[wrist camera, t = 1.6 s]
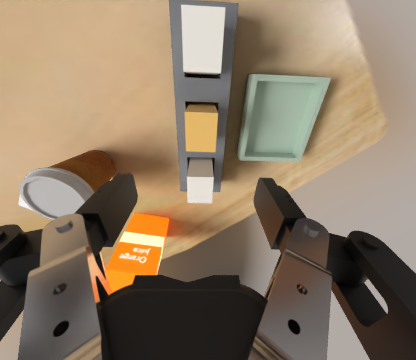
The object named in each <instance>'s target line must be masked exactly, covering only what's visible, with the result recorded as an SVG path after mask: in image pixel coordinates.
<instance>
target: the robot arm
mask: <svg viewBox="0 0 416 360" xmlns="http://www.w3.org/2000/svg"><path fill="white" fill-rule="evenodd" d="M137 198H138V195H137V190H136V186H135V181H134V177H133V175H132V174H126V173H118V174H117V175H116V176H115V177H114V178H113V179H112V180H111V181H108V182H106V183H105V184H103V185H101V186H100V187H99V188H98V189H97V190H96V192H94V193H93V194H92V195H91V197H90V198H89V199H88V200H87V201H86V202H85V203H84V204H83V205H82V206H81V207H80V208H79V209H78V210H77V211H76V212H75V213H74V214H67V215H63V216H61V217H58V218H56V219H54V220H53V221H51V222H50V223H48V224H47V225H46V226H45V227H44V229H40V230H35V231H30V232H25V233H24V232H23V230H22V229H21V228H20V227H19V226H18V225H4V226H0V279H1V282H0V341H1V340H2V338H3V337H4V336H5V334H6V333H7V331H8V330H9V329H10V327H11V326H12V325H13V323H14V322H15V321H16V319H17V318H18V316H19V315H20V314H21V312H22V311H23V310H24V313H23V322H22V329H21V337H20V346H19V353H18V360H327V346H328V331H329V317H330V302H331V301H330V300H331V289H332V291H333V293H334V295H335V296H336V299H337V300H338V302H339V304H340V306H341V308H342V310H343V311H344V313H345V315H346V317H347V319H348V320H349V322H350V324H351V326H352V327H353V329H354V331H355V333H356V335H357V337H358V339H359V340H360V342H361V344H362V346H363V348H364V350H365V351H366V353H367V355H368V357H369V359H370V360H416V273H415V272H413V271H412V270H411V269H410V268H409V267H408V266H407V265H406V264H405V263H404V262H403V261H402V260H401V259H400V258H399V257H398V256H397V255H396V254H395V253H394V252H393V251H392V250H391V249H390V248H389V247H388V246H387V245H386V244H385V243H384V242H382V241H381V240H379V239H378V238H376V237H375V236H373V235H370V234H368V233H365V232H362V231H352V232H351V233H350V234H349V235H348V236H347V238H346V237H342V236H339V235H335V234H331V233H329V232H328V231H327V229H326V228H325V227H324V226H323V225H321V224H320V223H318V222H316V221H314V220H312V219H308V218H306V216H305V215H304V213H303V212H302V211H301V209H300V208H299V207H298V205H297V204H296V203H295V202H294V200H293V198H291V196H290V194H289V193H288V192H287V191H286V190H285V189H284V188H282V187H281V186H277V184H276V183H275V181H274V180H273V179H272V178H259V180H258V183H257V187H256V191H255V195H254V206H255V209H256V211H257V214H258V216H259V219H260V221H261V224H262V226H263V229H264V231H265V234H266V237H267V239H268V242H269V244H270V247H271V249H279V250H280V252H281V255H280V257H279V259H278V262H277V264H276V267H275V269H274V272H273V275H272V277H271V280H270V283H269V285H268V287H267V290H266V292H265V294H264V297H263V296H262V295H260V294H259V293H258V292H257V291H255V290H253V289H251V288H250V287H247V286H245V285H242V284H240V280H239V275H233V276H232V275H213V276H209V277H206V278H202V279H198V280H195V281H191V282H183V281H180V280H176V279H173V278H169V277H166V276H163V275H135V277H134V280H133V283H132V284H130V285H127V286H125V287H122V288H120V289H118V290H116V291H114V292H113V293H112V290H111V288H110V285H109V282H108V278H107V274H106V270H105V266H104V262H103V259H102V255H101V253H100V251H101V250H102V248H103V247H113V245H114V243H115V241H116V240H117V238H118V236H119V234H120V232H121V230H122V229H123V227H124V225H125V223H126V221H127V219H128V218H129V216H130V214H131V212H132V210H133V208H134V207H135V205H136V203H137ZM367 279H369V280H370V281H371V283H372V284H373V285H374V287H375V288H376V289H377V290H378V292H379V293H380V294H381V296H382V297H383V298H384V300H385V302H386V304H387V306H388V314H387V313H386V312H385V311H384V310H383V308H382V307H381V305H380V304H379V303H378V301H377V300H376V299H375V297H374V296H373V294H372V293H371V291H370V290H369V289H368V287H367V286H366V285H365V283H364V282H365V281H366V280H367Z"/></svg>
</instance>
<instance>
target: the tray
mask: <svg viewBox="0 0 416 360" xmlns="http://www.w3.org/2000/svg"><path fill="white" fill-rule="evenodd" d="M330 80H331V78H328V77H307V76H286V75H265V74H248V79H247V86H246V93H245V100H244V107H243V114H242V121H241V128H240V135H239V142H238V149H237V156H238V158H239V160H245V161H280V162H300V161H301V158H302V155H303V153H304V150H305V147H306V145H307V142H308V139H309V136H310V134H311V131H312V128H313V126H314V123H315V120H316V118H317V115H318V112H319V110H320V107H321V104H322V102H323V99H324V96H325V94H326V91H327V88H328V86H329V83H330Z"/></svg>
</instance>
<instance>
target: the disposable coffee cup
mask: <svg viewBox="0 0 416 360" xmlns="http://www.w3.org/2000/svg"><path fill="white" fill-rule="evenodd" d="M115 170H116V167H115V164H114V162H113V160H112V159H111V158H110V157H109V156H108V155H107V154H105V153H103V152H101V151H97V150H92V151H88V152H86V153H83V154H81V155H78V156H76V157H73V158H71V159H68V160H66V161H63V162H60V163H58V164H55V165H53V166H50V167H48V168H39V169H36V170H33V171H31V172H30V173H28V174H27V175H26V177H25V179H24V181H23V182H22V183H21V185H20V194H21V197H22V199H23V200H24V202H25V203H26V204H27V205H28V206H29V207H30V208H31V209H32V210H34V211H35V212H36V213H38V214H40V215H41V216H44V217H46V218H48V219H51V220H54V219H56V218H58V217H61V216H63V215H67V214H74V213H75V212H76V211H77V210H78V209H79V208H80V207H81V206H82V205H83V204H84V203H85V202H86V201H87V200H88V199H89V198H90V197H91V195H92V194H93V193H94V192H96V190H97V189H98V188H99V187H100V186H101V185H103V184H105V183H106V182H108V181H109V180H110V179H111V177H112V176H113V174H114V173H115Z"/></svg>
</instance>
